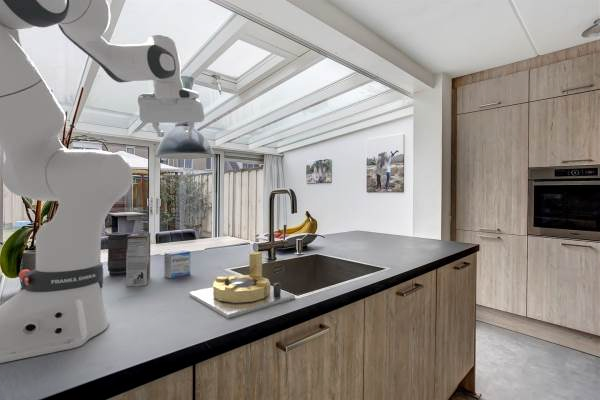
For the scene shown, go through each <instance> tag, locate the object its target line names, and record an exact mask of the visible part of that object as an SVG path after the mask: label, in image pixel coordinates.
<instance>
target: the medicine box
mask: <svg viewBox="0 0 600 400" xmlns="http://www.w3.org/2000/svg"><path fill="white" fill-rule="evenodd" d="M163 255H164V258H163V259H164V262H163V263H164V264H163V265H164V273H163V274H164V275H163V276H164V277H165V278H168V279H171V280H172V279H176V278H181V277H185V276H188V275H191V251H189V250H179V251H171V252H165V253H164V254H163Z"/></svg>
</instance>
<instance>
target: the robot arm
mask: <svg viewBox="0 0 600 400" xmlns="http://www.w3.org/2000/svg"><path fill="white" fill-rule="evenodd" d="M110 22H111V10H110V5H109V3H108V1H107V0H0V145H1V148H2V150H3V152H4V156H5V161H4V163H3V165H2V168H1V180H2V183H3V185H4V186H5V187H6V188H7V190H8V191H9V192H10V193H12V194H14V195H15V196H19V197H23V198H27V199H31V200H35V201H41V202H44V201H46V202H47V201H49V202H58V206H57V209H56V211H55V213H54V215H53V217H52V218H51V220H49V221H48V222H46V223H45V224H43V225H41V226H40V227H39V228H38V229H37V232H36V234H35V268H34V269H32V270H30V269H22V270H20V272H19V273H18V279H19V280H21V288H22V290H21V291H19V292H18V293H16V294H15V295H13V296H12V297H10V298H9V299H8V300H7V301H5V302H3V303H2V304H1V305H0V364H4V363H7V362H12V361H16V360H21V359H27V358H31V357H37V356H41V355H47V354H52V353H56V352H60V351H67V350H71V349H75V348H79V347H81V346H82V345H84V344H86V342H87V341H89V340H90V339H91V338H93V337H95V336H97V335H99V334H101V333H103V331H105V330H106V329H107V328H108V327H109V324H110V323H109V319H108V317H107V314H106V310H105V306H104V300H103V299H104V298H103V294H102V288H103V284H104V267H103V266H104V265H103V263H102V261H101V255H102V254H101V253H102V251H101V246H102V234H103V233H102V231H103V227H104V223H105V220H106V218H107V217H108V214H109V213H110V211H111V209H112V207H113V206H114V205H115V204H116V203H117V202H118V201H119V200H120V199H121V198H122V197H124V196H126V195H127V193H128V192H129V190H130V189H131V187H132V184H133V170H132V168H131V166H130V164H129V162H128V161H127V160H126V158H125V157H124V156H122V155H121V154H118V153H115V152H111V151H107V150H106V151H105V150H100V149H68V148H67V147H65V146H64V145H63V143H62V142H61V139H60V137H59V134H60V133H61V131H62V130H63V128H64V127H65V124H66V117H67V116H66V114H65V111H64V109H63V108H62V107H61V105H60V103H59V101H58V100H57V99H56V97H55V94H54V93H53V92H52V91H51V89H50V87H49V85H47V82H46V80H45V79H44V78H43V77H42V75H41V73H40V71H39V70H38V68H37V67H36V66H35V64H34V62H33V61H32V60H31V58H30V57H29V55H28V54H27V53H26V52H25V50H24V49H23V47H22V45H21V40H20V35H19V30H26V29H33V28H48V27H52V26H55V25H58V28H59V30H60V32H61V33H62V34H63V35H64V36H65V37H66V38H67V39H68V40H69V41H70V42H71V43H73V44H74V45H75V46H76V47H77V48H78V49H79V50H81V51H82V52H84V54H86V55H87V56H89V58H91V59H92V60H93V61H95V63H97V64H98V65H99V66H100V67H101V68H102V69H103V71H104V72H105V73H106V74H107V76H109V78H111V79H112V80H113V81H115V82H117V83H130V82H148V81H152V86H153V92H154V93H153V92H152V93H145V92H144V93H141V94H140V95H138V97H137V103H138V106H139V112H138V113H139V119H140V121H141V122H142V123H143V124H151V125H152V127H153V129H154V130H155V131H156V134H157V137H158V138H163V137H165V131H164V130H161V129H160V127H159V126H160V124H161V123H162V124H165V123H167V124H168V123H169V124H170V123H187V125H188V127H189V128H188V130H185V136H186V137H192V136H193V129H194V127H195V123H202V122H203V121H205V112H204V107H203V104H202V102H201V101H200V100H199V97H200V95H199V92H197V91H195V90H191V89H189V88H187V87H186V88H185V87H184V85H183V80H182V78H181V77H182V76H181V70H182V69H181V68H182V67H181V60H180V55H179V52H178V47H177V45H176V41H174V39H172V38H171V37H169V36H165V35H161V34H160V35H159V34H154V35H151V36H149V37H148V40H147V41H146V42H144V43H140V44H138V43H137V44H124V45H123V44H114V43H113V44H112V43H110V42H108V41H107V40H106V39H105V38H104V37H103V36H104V34H105V33H106V31H107V30H108V28H109V25H110Z"/></svg>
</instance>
